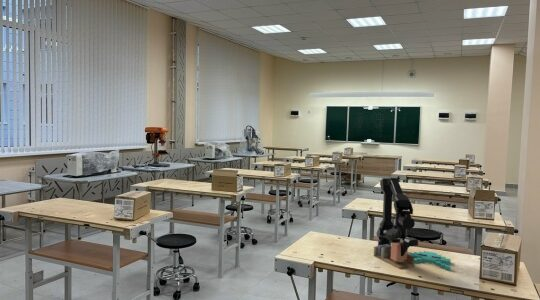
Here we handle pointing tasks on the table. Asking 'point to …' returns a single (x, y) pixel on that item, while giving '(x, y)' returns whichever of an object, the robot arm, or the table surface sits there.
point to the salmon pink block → (397, 252)
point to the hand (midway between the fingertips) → (399, 254)
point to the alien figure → (431, 259)
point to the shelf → (385, 255)
